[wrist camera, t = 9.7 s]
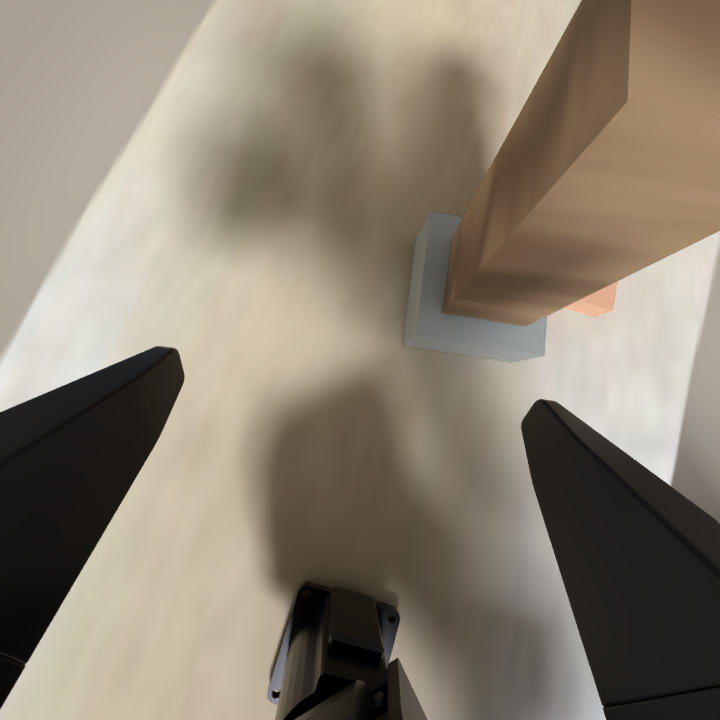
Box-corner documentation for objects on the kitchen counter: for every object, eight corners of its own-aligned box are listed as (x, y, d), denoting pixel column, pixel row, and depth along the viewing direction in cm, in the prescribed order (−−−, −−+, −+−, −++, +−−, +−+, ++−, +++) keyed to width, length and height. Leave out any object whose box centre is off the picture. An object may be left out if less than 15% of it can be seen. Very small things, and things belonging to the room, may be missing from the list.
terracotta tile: (589, 317, 24) (612, 310, 22) (528, 299, 24) (546, 290, 22) (600, 258, 25) (623, 246, 23) (541, 239, 24) (559, 226, 23)
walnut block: (525, 326, 19) (898, 143, 6) (442, 312, 19) (627, 101, 6) (532, 249, 19) (874, -64, 7) (452, 236, 20) (635, -98, 7)
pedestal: (508, 363, 23) (544, 355, 19) (401, 346, 23) (415, 335, 19) (516, 260, 24) (551, 233, 20) (414, 242, 24) (430, 211, 20)
